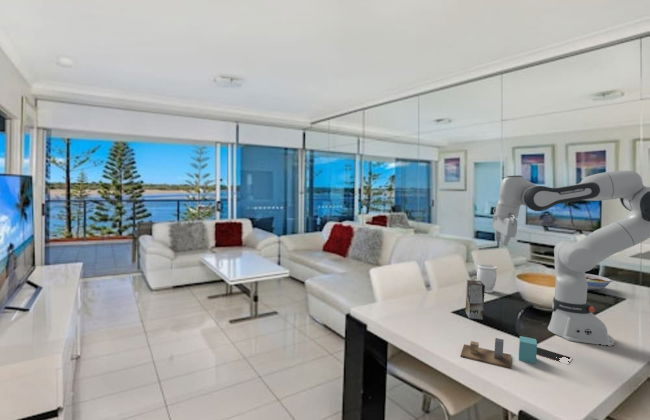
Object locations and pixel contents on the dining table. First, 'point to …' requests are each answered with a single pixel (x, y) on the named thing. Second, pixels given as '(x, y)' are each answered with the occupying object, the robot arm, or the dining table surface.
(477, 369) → the dining table surface
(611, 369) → the dining table surface
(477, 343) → the board
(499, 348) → the steel post
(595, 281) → the ramen bowl
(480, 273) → the jar
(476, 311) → the coffee box
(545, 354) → the smartphone
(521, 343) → the teal block
